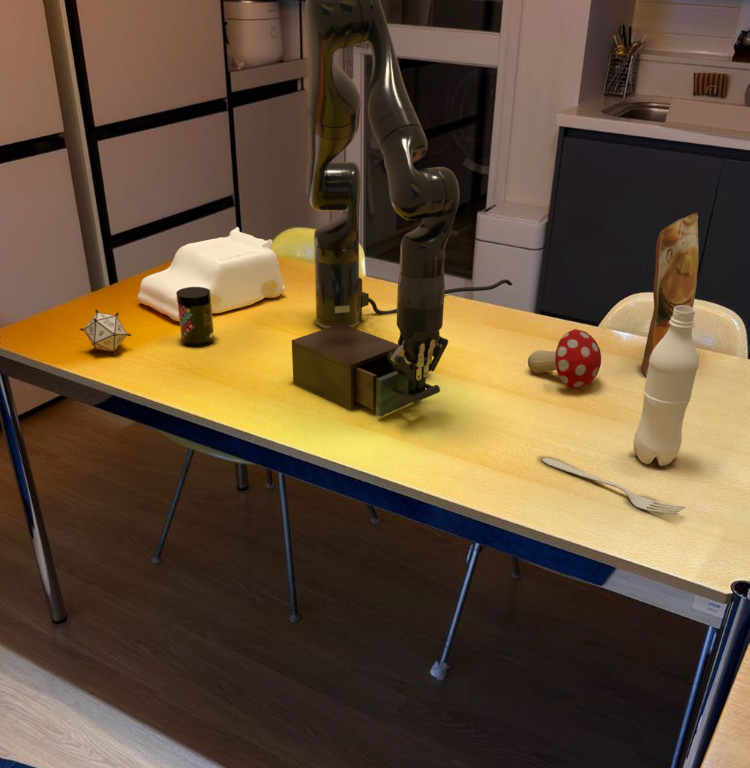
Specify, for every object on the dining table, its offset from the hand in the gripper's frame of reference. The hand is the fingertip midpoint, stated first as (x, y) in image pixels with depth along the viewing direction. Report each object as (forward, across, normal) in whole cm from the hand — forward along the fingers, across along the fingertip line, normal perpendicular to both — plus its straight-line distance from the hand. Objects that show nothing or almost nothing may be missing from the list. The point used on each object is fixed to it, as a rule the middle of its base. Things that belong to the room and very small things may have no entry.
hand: (416, 397), depth 150 cm
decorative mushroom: (+4, +32, -8) cm, 34 cm away
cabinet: (+4, 0, +18) cm, 18 cm away
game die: (+4, -23, +63) cm, 67 cm away
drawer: (+3, 0, +8) cm, 8 cm away
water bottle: (+4, +17, -36) cm, 40 cm away
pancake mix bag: (+4, +53, -17) cm, 56 cm away
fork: (+4, +4, -36) cm, 37 cm away
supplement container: (+4, -7, +55) cm, 55 cm away
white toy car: (+4, +10, +73) cm, 73 cm away
